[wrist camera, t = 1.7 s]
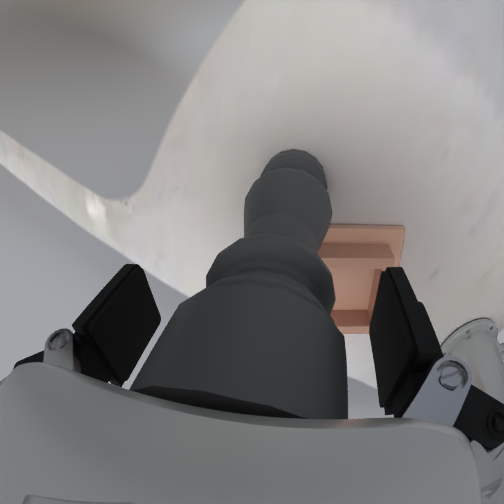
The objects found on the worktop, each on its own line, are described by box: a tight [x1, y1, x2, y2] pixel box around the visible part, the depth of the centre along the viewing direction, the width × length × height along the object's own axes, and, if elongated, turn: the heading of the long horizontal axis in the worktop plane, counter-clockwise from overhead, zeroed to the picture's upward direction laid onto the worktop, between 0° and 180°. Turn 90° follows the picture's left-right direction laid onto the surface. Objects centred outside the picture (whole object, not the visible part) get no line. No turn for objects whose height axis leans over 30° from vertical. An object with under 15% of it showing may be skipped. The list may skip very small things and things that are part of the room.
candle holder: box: [130, 149, 348, 419], centre depth 16 cm, size 6×6×25 cm
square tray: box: [318, 224, 405, 334], centre depth 30 cm, size 14×14×4 cm
